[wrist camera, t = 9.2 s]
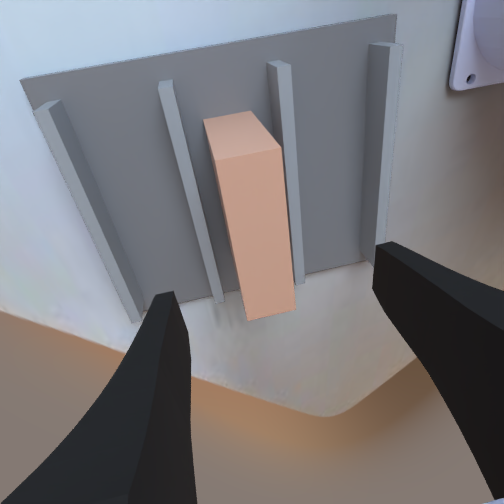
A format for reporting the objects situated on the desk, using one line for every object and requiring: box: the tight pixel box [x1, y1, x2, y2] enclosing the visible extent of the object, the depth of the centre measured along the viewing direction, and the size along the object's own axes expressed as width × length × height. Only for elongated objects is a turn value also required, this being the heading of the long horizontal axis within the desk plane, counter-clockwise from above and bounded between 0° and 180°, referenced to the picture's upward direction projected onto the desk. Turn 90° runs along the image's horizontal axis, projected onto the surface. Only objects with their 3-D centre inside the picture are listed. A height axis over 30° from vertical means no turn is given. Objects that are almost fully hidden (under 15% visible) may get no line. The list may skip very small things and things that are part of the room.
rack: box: [20, 14, 403, 323], centre depth 19 cm, size 17×14×3 cm
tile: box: [203, 111, 296, 321], centre depth 17 cm, size 2×8×6 cm, turn 8°
